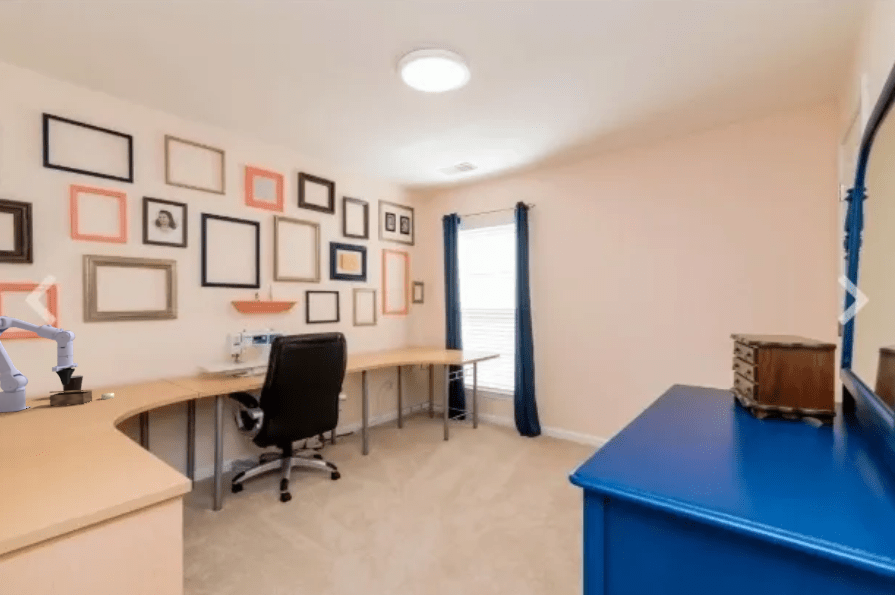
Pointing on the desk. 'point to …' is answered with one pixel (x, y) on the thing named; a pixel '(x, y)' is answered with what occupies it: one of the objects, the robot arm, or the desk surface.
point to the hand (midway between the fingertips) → (65, 384)
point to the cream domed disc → (107, 396)
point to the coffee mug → (74, 384)
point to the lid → (69, 391)
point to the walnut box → (71, 398)
